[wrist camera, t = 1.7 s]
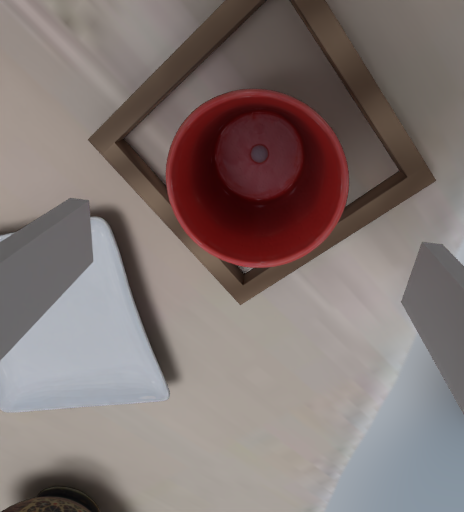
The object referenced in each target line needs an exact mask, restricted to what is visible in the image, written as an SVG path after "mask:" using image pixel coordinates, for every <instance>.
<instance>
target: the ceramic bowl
mask: <svg viewBox="0 0 464 512" xmlns="http://www.w3.org/2000/svg"><path fill="white" fill-rule="evenodd" d="M1 512H99V509H98V506H97V505H96V504H95V502H94V501H93V500H92V499H91V498H89V497H88V496H87V495H86V494H84V493H82V492H80V491H78V490H75V489H72V488H68V487H52V488H47V489H44V490H43V491H42V492H40V493H39V494H38V496H37V497H36V498H32V499H28V500H25V501H21V502H19V503H17V504H14V505H12V506H10V507H8V508H7V509H5V510H3V511H1Z"/></svg>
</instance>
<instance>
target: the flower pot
mask: <svg viewBox="0 0 464 512" xmlns="http://www.w3.org/2000/svg"><path fill="white" fill-rule="evenodd" d="M166 185H167V192H168V197H169V201H170V204H171V207H172V209H173V212H174V214H175V216H176V218H177V220H178V222H179V223H180V225H181V227H182V228H183V229H184V231H185V232H186V234H187V235H188V236H189V237H190V238H191V239H192V240H193V241H194V242H195V243H196V244H197V245H198V246H199V247H201V248H202V249H204V250H205V251H206V252H208V253H209V254H211V255H213V256H215V257H217V258H219V259H221V260H223V261H226V262H228V263H232V264H235V265H239V266H244V267H252V268H266V267H275V266H280V265H284V264H287V263H290V262H293V261H295V260H297V259H299V258H302V257H304V256H305V255H307V254H308V253H310V252H311V251H313V250H314V249H315V248H317V247H318V246H319V245H320V244H322V243H323V242H324V240H325V239H326V238H327V237H328V236H329V235H330V234H331V232H332V231H333V229H334V228H335V226H336V225H337V223H338V222H339V220H340V218H341V215H342V213H343V211H344V208H345V205H346V201H347V197H348V190H349V171H348V165H347V161H346V157H345V154H344V151H343V148H342V146H341V144H340V142H339V140H338V138H337V136H336V134H335V133H334V131H333V130H332V128H331V127H330V126H329V125H328V123H327V122H326V121H325V120H324V119H323V118H322V117H321V116H320V115H319V114H318V113H317V112H316V111H315V110H313V109H312V108H311V107H309V106H308V105H306V104H305V103H303V102H301V101H299V100H297V99H296V98H294V97H291V96H289V95H286V94H283V93H280V92H277V91H272V90H266V89H242V90H236V91H232V92H228V93H225V94H222V95H219V96H217V97H214V98H212V99H210V100H208V101H207V102H205V103H203V104H202V105H200V106H199V107H198V108H196V109H195V110H194V111H193V112H192V113H191V114H190V115H189V116H188V117H187V118H186V119H185V121H184V122H183V123H182V125H181V126H180V128H179V129H178V131H177V133H176V135H175V137H174V139H173V141H172V144H171V147H170V150H169V154H168V158H167V164H166Z"/></svg>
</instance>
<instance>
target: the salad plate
mask: <svg viewBox="0 0 464 512" xmlns="http://www.w3.org/2000/svg"><path fill="white" fill-rule="evenodd" d="M90 221H91V234H92V248H93V263H92V264H91V265H90V266H89V267H88V268H87V269H86V270H85V271H84V272H83V273H82V274H81V275H80V276H79V277H78V279H77V280H76V281H75V282H74V283H73V284H72V285H71V286H70V287H69V288H68V289H67V290H66V291H65V292H64V293H63V294H62V296H61V297H60V298H59V299H58V300H57V301H56V302H55V303H54V304H53V305H52V306H51V307H50V308H49V309H48V310H47V312H46V313H45V314H44V315H43V316H42V317H41V318H40V319H39V320H38V321H37V322H36V323H35V324H34V325H33V326H32V328H31V329H30V330H29V331H28V332H27V333H26V334H25V335H24V336H23V337H22V338H21V339H20V340H19V341H18V342H17V344H16V345H15V346H14V347H13V348H12V349H11V350H10V351H9V352H8V353H7V354H6V355H5V356H4V357H3V358H2V359H1V361H0V410H2V411H4V412H27V411H38V410H51V409H63V408H77V407H90V406H104V405H118V404H132V403H145V402H158V401H165V400H167V399H169V397H170V391H169V388H168V385H167V383H166V380H165V378H164V375H163V373H162V371H161V368H160V366H159V364H158V361H157V359H156V357H155V354H154V352H153V350H152V347H151V345H150V342H149V340H148V337H147V335H146V332H145V329H144V327H143V324H142V321H141V318H140V316H139V313H138V310H137V307H136V304H135V302H134V299H133V295H132V292H131V289H130V286H129V282H128V279H127V275H126V272H125V268H124V265H123V262H122V258H121V255H120V252H119V248H118V245H117V243H116V240H115V237H114V234H113V232H112V230H111V227H110V225H109V224H108V222H107V221H106V220H104V219H103V218H101V217H96V216H92V217H90ZM14 233H15V232H13V233H9V234H4V235H0V242H1V241H3V240H4V239H6V238H7V237H9V236H11V235H12V234H14Z"/></svg>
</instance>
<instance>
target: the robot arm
mask: <svg viewBox="0 0 464 512" xmlns="http://www.w3.org/2000/svg"><path fill="white" fill-rule="evenodd" d="M92 263H93V248H92V234H91V221H90V207H89V200H83V199H75V198H69V199H68V200H66V201H65V202H63V203H61V204H60V205H58V206H57V207H55V208H54V209H52V210H50V211H49V212H47V213H46V214H44V215H42V216H41V217H39V218H38V219H36V220H34V221H33V222H31V223H30V224H28V225H26V226H25V227H23V228H22V229H20V230H19V231H17V232H15V233H14V234H12V235H11V236H9V237H7V238H6V239H4V240H3V241H1V242H0V361H1V359H2V358H3V357H4V356H5V355H6V354H7V353H8V352H9V351H10V350H11V349H12V348H13V347H14V346H15V345H16V344H17V342H18V341H19V340H20V339H21V338H22V337H23V336H24V335H25V334H26V333H27V332H28V331H29V330H30V329H31V328H32V326H33V325H34V324H35V323H36V322H37V321H38V320H39V319H40V318H41V317H42V316H43V315H44V314H45V313H46V312H47V310H48V309H49V308H50V307H51V306H52V305H53V304H54V303H55V302H56V301H57V300H58V299H59V298H60V297H61V296H62V294H63V293H64V292H65V291H66V290H67V289H68V288H69V287H70V286H71V285H72V284H73V283H74V282H75V281H76V280H77V279H78V277H79V276H80V275H81V274H82V273H83V272H84V271H85V270H86V269H87V268H88V267H89V266H90V265H91V264H92ZM401 303H402V304H403V306H404V308H405V310H406V312H407V313H408V315H409V317H410V319H411V321H412V322H413V324H414V326H415V328H416V330H417V331H418V333H419V335H420V337H421V339H422V340H423V342H424V344H425V346H426V347H427V349H428V351H429V353H430V355H431V356H432V358H433V360H434V362H435V364H436V365H437V367H438V369H439V371H440V372H441V374H442V376H443V378H444V380H445V382H446V383H447V385H448V387H449V389H450V390H451V392H452V394H453V396H454V398H455V400H456V401H457V403H458V405H459V407H460V408H461V410H462V412H463V414H464V266H463V265H462V264H461V263H460V262H459V261H458V260H457V259H456V258H455V257H454V256H453V255H452V254H451V253H450V252H449V251H448V250H447V249H446V248H445V247H444V246H443V245H442V244H435V243H427V242H422V244H421V247H420V249H419V252H418V255H417V258H416V261H415V264H414V267H413V269H412V272H411V275H410V278H409V281H408V284H407V287H406V290H405V292H404V295H403V298H402V301H401Z"/></svg>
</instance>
